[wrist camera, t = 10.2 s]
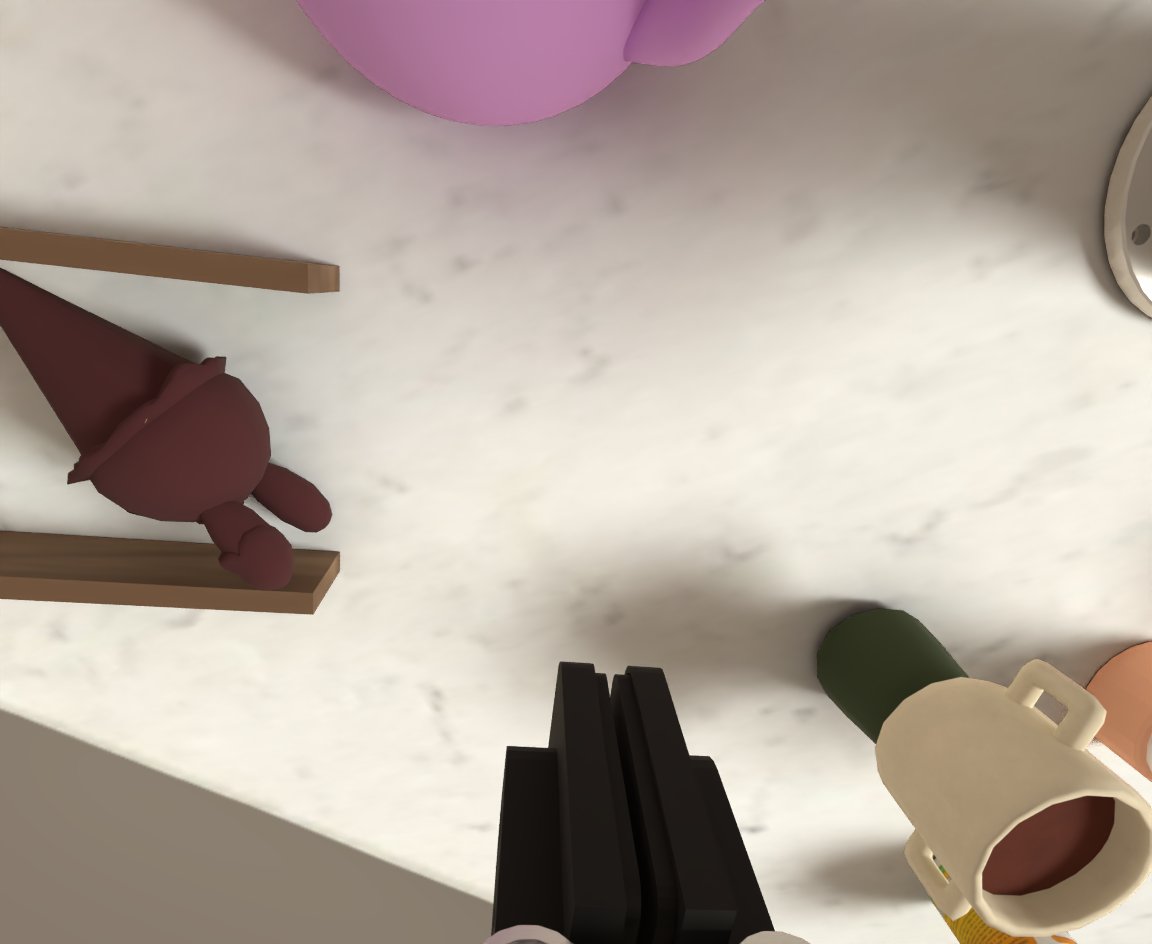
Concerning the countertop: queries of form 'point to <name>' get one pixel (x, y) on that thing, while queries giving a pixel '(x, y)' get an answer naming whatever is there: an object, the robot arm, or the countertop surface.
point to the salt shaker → (1127, 706)
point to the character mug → (991, 779)
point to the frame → (149, 565)
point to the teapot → (516, 48)
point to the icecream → (162, 431)
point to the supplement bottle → (990, 928)
